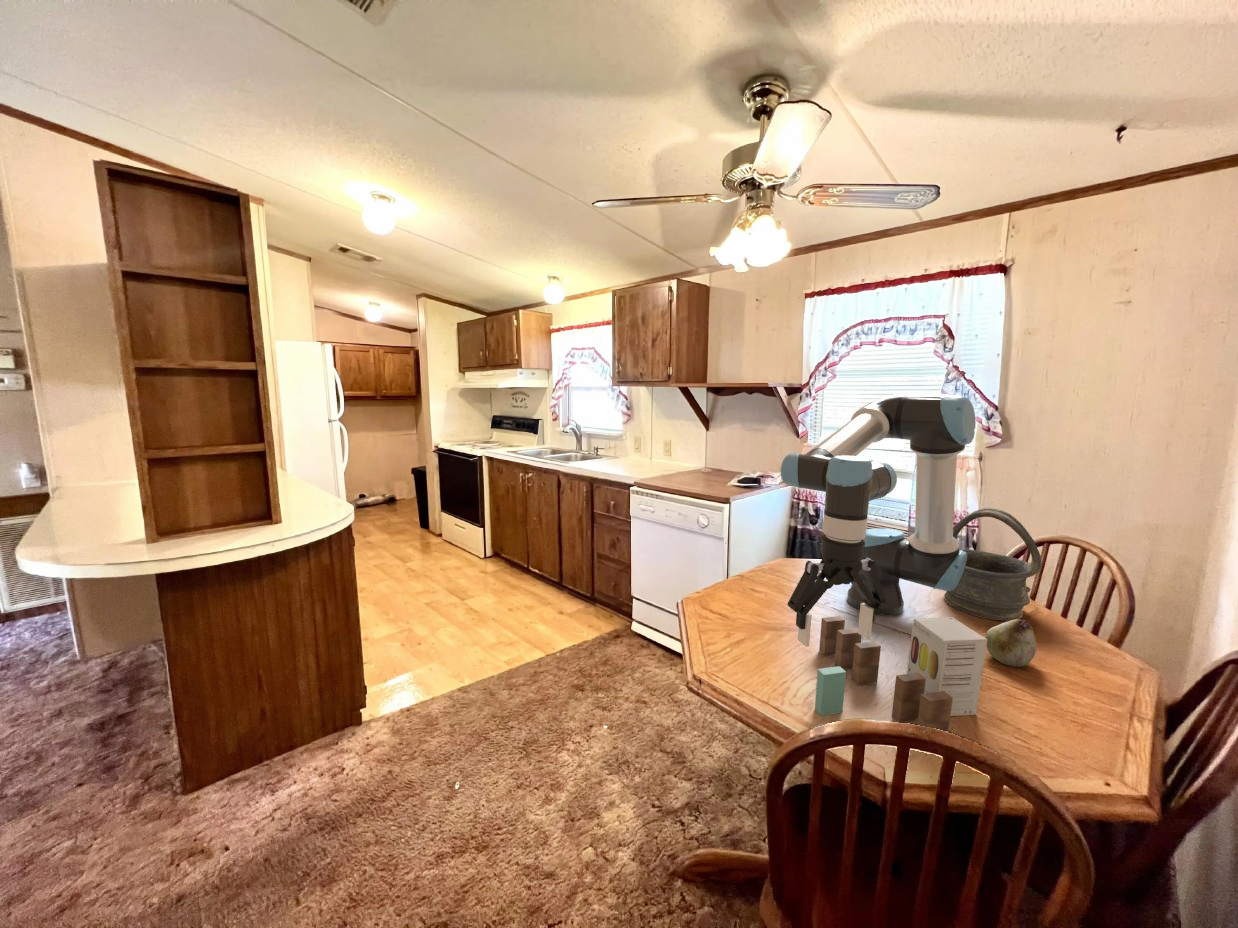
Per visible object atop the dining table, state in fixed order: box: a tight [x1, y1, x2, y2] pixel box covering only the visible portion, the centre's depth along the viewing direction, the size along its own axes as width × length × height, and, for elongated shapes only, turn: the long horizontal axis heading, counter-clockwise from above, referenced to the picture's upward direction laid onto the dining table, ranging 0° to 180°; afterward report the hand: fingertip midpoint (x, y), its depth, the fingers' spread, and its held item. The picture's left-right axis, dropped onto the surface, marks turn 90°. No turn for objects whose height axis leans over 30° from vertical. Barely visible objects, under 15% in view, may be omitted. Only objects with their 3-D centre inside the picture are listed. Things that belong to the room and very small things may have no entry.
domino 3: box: [851, 640, 882, 687], centre depth 106 cm, size 5×2×9 cm, turn 102°
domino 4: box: [891, 672, 926, 723], centre depth 95 cm, size 5×2×9 cm, turn 102°
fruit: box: [984, 618, 1038, 668], centre depth 114 cm, size 10×9×12 cm
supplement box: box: [906, 616, 987, 717], centre depth 99 cm, size 10×9×17 cm
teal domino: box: [814, 666, 847, 716], centre depth 97 cm, size 5×2×9 cm, turn 102°
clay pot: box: [943, 507, 1043, 622], centre depth 142 cm, size 22×23×30 cm
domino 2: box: [834, 627, 863, 670], centre depth 112 cm, size 5×2×9 cm, turn 102°
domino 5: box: [916, 691, 953, 732], centre depth 89 cm, size 5×2×9 cm, turn 102°
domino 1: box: [818, 615, 846, 657], centre depth 118 cm, size 5×2×9 cm, turn 102°
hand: (834, 639), depth 95 cm, fingers open, 13 cm apart
